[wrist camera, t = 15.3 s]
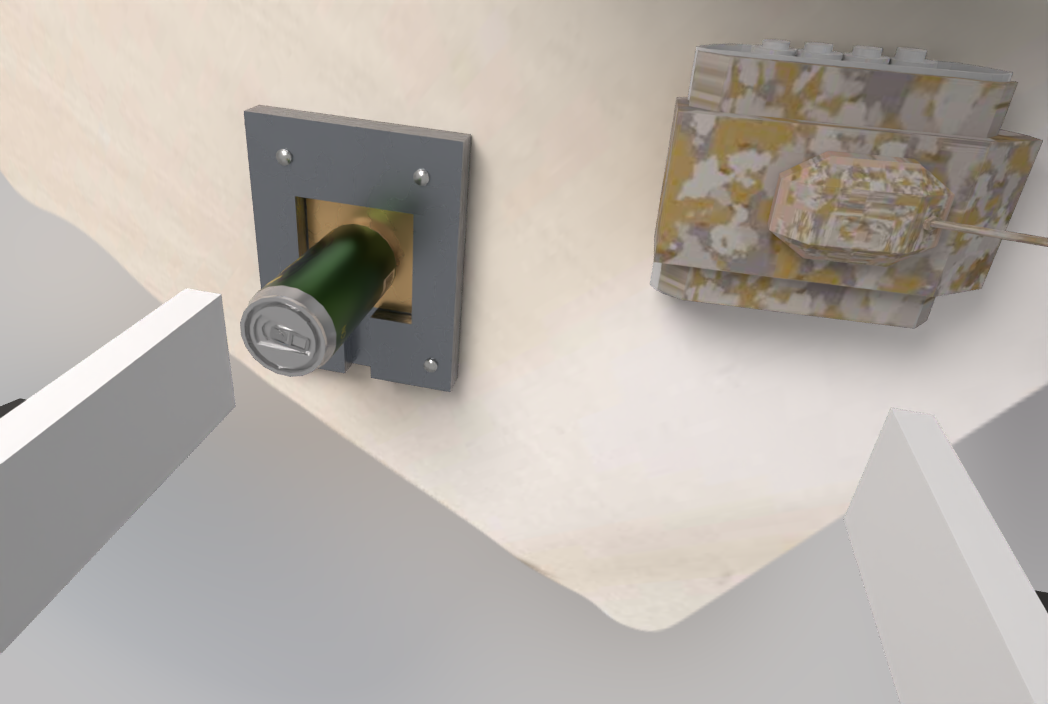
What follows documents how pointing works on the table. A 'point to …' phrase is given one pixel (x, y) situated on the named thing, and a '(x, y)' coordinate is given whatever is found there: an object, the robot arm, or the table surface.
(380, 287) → the beer can
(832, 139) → the toy tank
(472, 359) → the table surface
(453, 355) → the chassis plate
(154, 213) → the table surface
